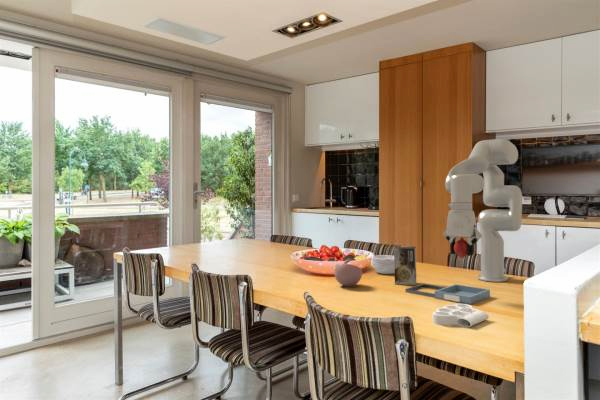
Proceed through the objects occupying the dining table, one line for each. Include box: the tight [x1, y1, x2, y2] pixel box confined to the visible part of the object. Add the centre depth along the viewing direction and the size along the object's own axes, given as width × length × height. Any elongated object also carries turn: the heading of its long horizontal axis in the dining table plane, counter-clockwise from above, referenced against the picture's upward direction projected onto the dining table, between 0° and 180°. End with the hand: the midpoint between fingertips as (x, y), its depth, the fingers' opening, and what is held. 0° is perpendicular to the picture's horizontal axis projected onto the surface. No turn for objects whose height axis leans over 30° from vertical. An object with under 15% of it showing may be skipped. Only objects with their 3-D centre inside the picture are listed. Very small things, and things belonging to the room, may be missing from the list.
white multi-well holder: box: [432, 303, 490, 329], centre depth 140 cm, size 3×18×15 cm
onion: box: [454, 237, 469, 259], centre depth 167 cm, size 6×6×8 cm
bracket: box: [405, 283, 446, 298], centre depth 178 cm, size 14×13×1 cm
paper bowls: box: [370, 254, 395, 275], centre depth 220 cm, size 15×15×8 cm
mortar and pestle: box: [333, 258, 363, 287], centre depth 191 cm, size 12×12×11 cm
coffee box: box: [393, 245, 417, 286], centre depth 194 cm, size 9×6×16 cm
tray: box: [434, 283, 491, 306], centre depth 167 cm, size 16×14×3 cm
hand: (462, 254), depth 167 cm, fingers closed on onion, 5 cm apart
